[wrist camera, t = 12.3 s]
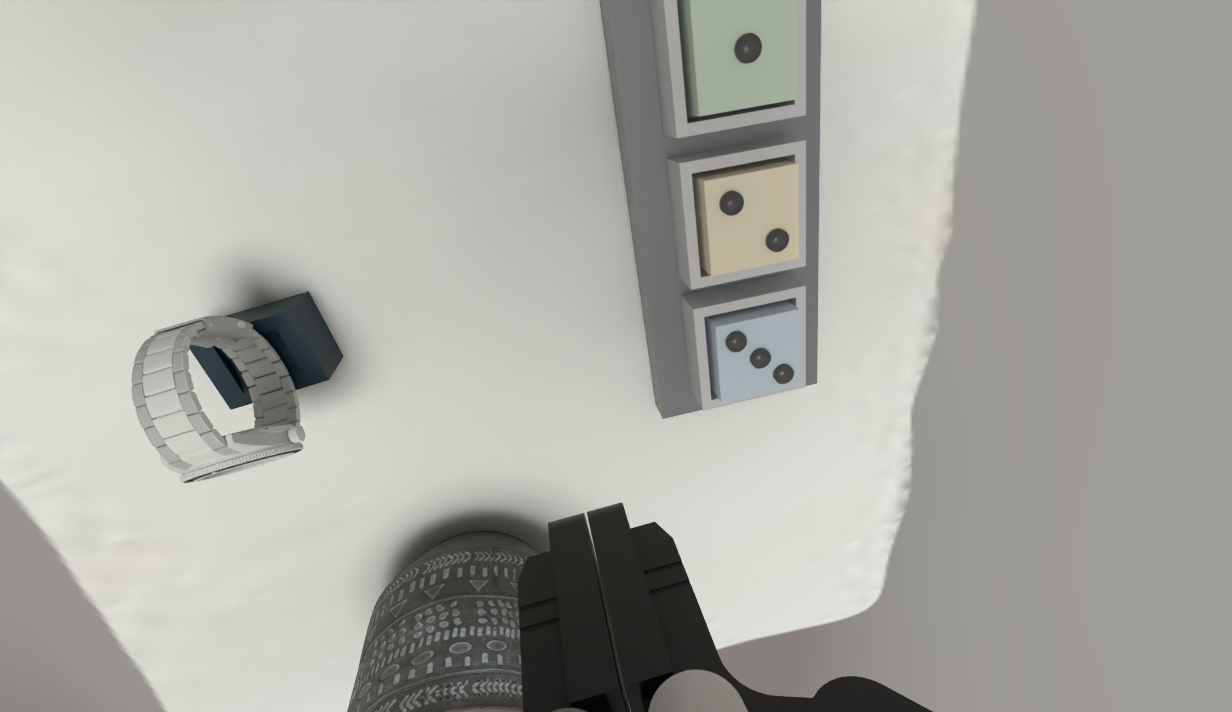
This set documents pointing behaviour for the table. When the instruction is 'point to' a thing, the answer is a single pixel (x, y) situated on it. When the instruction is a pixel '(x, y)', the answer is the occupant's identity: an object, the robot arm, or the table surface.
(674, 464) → the table surface
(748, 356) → the button three
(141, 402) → the watch
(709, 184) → the button two
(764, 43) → the button one
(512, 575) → the planter
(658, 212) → the keypad
